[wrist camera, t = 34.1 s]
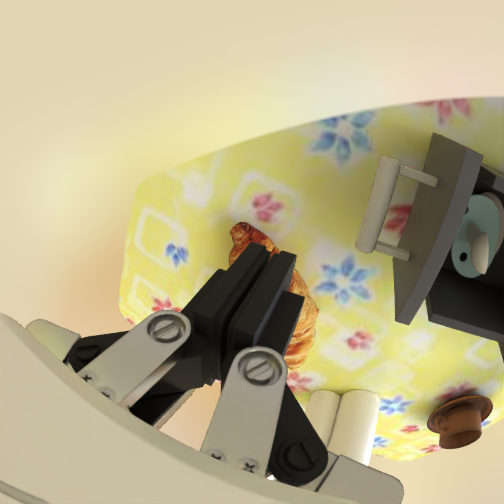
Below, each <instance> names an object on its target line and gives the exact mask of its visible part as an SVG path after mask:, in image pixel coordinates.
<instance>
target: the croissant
mask: <svg viewBox="0 0 504 504" xmlns="http://www.w3.org/2000/svg"><path fill="white" fill-rule="evenodd" d="M230 234H231V236H232V239H233V242H234V247H233V248H232V250H231V252H230V255H229V266H231V265H232V264H233V262H234V261H235V260H236V259H237V258H238V256H239V255H240V254H241V253H242V252H243V250H244V249H245V248H246V247H247V246H248V244H249V243H250V242H255V243H258V244H262V245H265V246H266V247H267V250H268V251H271V256H270V259H271V257H272V256H273V254H274V253H278V254H280V251H279V250H278V249H277V248H276V247H275V246H274V243H273V242H272V241H271V240H270V238H269V237H267V236H266V235H265V234H263V233H262V232H261V231H259V230H257V229H255V228H254V227H253V226H251V225H250V224H248V223H246V222H239V223H238V224H236V225H235V226H234V227H233V228H232V229H231V230H230ZM289 292H292V293H295V294H298V295H301V296H305V301H304V304H303V307H302V310H301V314H300V317H299V320H298V323H297V325H296V328H295V331H294V333H293V336H292V339H291V341H290V344H289V346H288V349H287V351H286V354H285V356H284V359H285V361H286V364H287V367H288V368H289V369H290V370H294V369H296V368H298V367H299V366H300V365H302V364H303V363H304V362H305V359H306V356H307V353H308V352H309V350H310V348H311V347H312V345H313V343H314V338H315V323H316V322H315V320H316V317H317V316H318V313H319V309H318V308H317V307H316V305H315V303H314V301H313V300H312V299H311V298H310V297H309V296H308V293H309V292H308V287H307V286H306V284H305V282H304V281H303V279H302V278H301V276H300V275H299V273H298V272H297V271H296V270H295V269H294V270H293V274H292V279H291V283H290V287H289Z"/></svg>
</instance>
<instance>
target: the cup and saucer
mask: <svg viewBox="0 0 504 504" xmlns="http://www.w3.org/2000/svg"><path fill="white" fill-rule="evenodd" d="M492 409H493V404H492V402H491V400H490V399H488V398H487V397H484V396H480V395H471V396H464V397H460V398H457V399H454V400H452V401H449V402H447V403H445V404H444V405H442V406H440V407H439V408H438V409H436V410H435V411H434V412H433V413H432V414H431V415H430V417H429V419H428V422H427V427H428V429H429V430H431V431H432V432H435V433H439V434H440V440H439V446H440V447H441V448H444V449H456V448H461V447H464V446H467V445H469V444H471V443H473V442H475V441H476V440H477V439H479V438H480V436H481V433H482V430H481V422H483V421H484V420H485V419H486V418H487V417H488V416H489V415H490V413H491V412H492Z"/></svg>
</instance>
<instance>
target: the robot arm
mask: <svg viewBox="0 0 504 504" xmlns="http://www.w3.org/2000/svg"><path fill="white" fill-rule="evenodd" d="M270 256H271V251H268V250H267V247H266V246H265V245H262V244H258V243H255V242H250V243H249V244H248V246H247V247H246V248H245V249H244V250H243V252H242V253H241V254H240V255H239V256H238V258H237V259H236V260H235V261H234V262H233V264H232V265H231V266H230V267H229V268H228V270H227V271H226V270H223V269H218V270H217V271H216V272H215V273H214V274H213V276H212V277H211V278H210V279H209V280H208V281H207V282H206V284H205V285H204V286H203V287H202V288H201V289H200V290H199V292H198V293H197V294H196V295H195V296H194V297H193V298H192V300H191V301H190V302H189V303H188V304H187V305H186V306H185V308H184V309H183V310H182V311H181V312H180V313H179V312H177V311H173V310H161V311H158V312H155V313H153V314H151V315H149V316H148V317H147V318H145V319H144V320H143V321H142V322H140V323H139V324H138V325H137V326H135V327H134V328H133V329H132V330H130V331H124V332H118V333H110V334H103V335H96V336H88V337H84V338H81V336H80V334H77V333H75V332H72V331H70V330H68V329H65V328H63V327H60V326H58V325H56V324H53V323H51V322H49V321H47V320H43V319H38V320H34V321H32V322H30V323H29V324H28V325H27V326H26V328H24V327H23V326H22V325H21V324H19V323H18V322H17V321H15V320H14V319H13V318H11V317H9V316H7V315H5V314H2V313H0V504H401V502H402V499H403V495H404V489H403V485H402V484H401V482H400V480H398V479H397V478H395V477H393V476H391V475H389V474H386V473H383V472H381V471H378V470H376V469H374V468H371V467H369V466H366V465H364V464H362V463H360V462H357V461H355V460H353V459H351V458H348V457H346V456H344V455H342V454H340V455H336V454H334V453H332V452H330V451H328V450H327V449H326V447H325V445H324V443H323V442H322V440H321V438H320V437H319V435H318V434H317V432H316V430H315V429H314V427H313V426H312V424H311V422H310V421H309V419H308V418H307V416H306V414H305V413H304V411H303V410H302V408H301V406H300V405H299V403H298V401H297V400H296V398H295V396H294V395H293V393H292V391H291V390H290V388H289V387H288V385H287V383H286V379H287V374H288V367H287V364H286V361H285V359H284V356H285V354H286V351H287V349H288V346H289V344H290V341H291V339H292V336H293V333H294V331H295V328H296V325H297V323H298V320H299V317H300V314H301V310H302V307H303V304H304V301H305V296H301V295H298V294H295V293H292V292H289V287H290V283H291V279H292V274H293V270H294V266H295V262H296V257H297V255H295V254H292V253H288V252H285V251H281V252H280V254H278V253H274V254H273V256H272V257H271V259H270ZM215 379H217V380H219V381H220V380H221V395H220V398H219V400H218V403H217V406H216V409H215V411H214V414H213V417H212V419H211V422H210V425H209V428H208V430H207V433H206V436H205V438H204V441H203V444H202V446H201V449H200V451H197V450H195V449H193V448H191V447H189V446H187V445H185V444H183V443H181V442H179V441H177V440H175V439H173V438H172V437H170V436H168V435H166V434H164V433H163V432H161V431H159V429H160V428H161V427H162V426H163V425H164V424H165V423H166V422H167V421H168V420H169V418H171V416H172V415H173V414H174V413H175V412H176V411H177V410H178V409H179V408H180V407H181V406H182V404H184V403H185V402H186V400H187V399H188V398H189V397H190V396H191V395H192V393H193V392H194V390H195V389H196V388H200V387H203V385H204V384H208V385H210V386H211V385H212V384H213V383H214V381H215Z"/></svg>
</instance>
